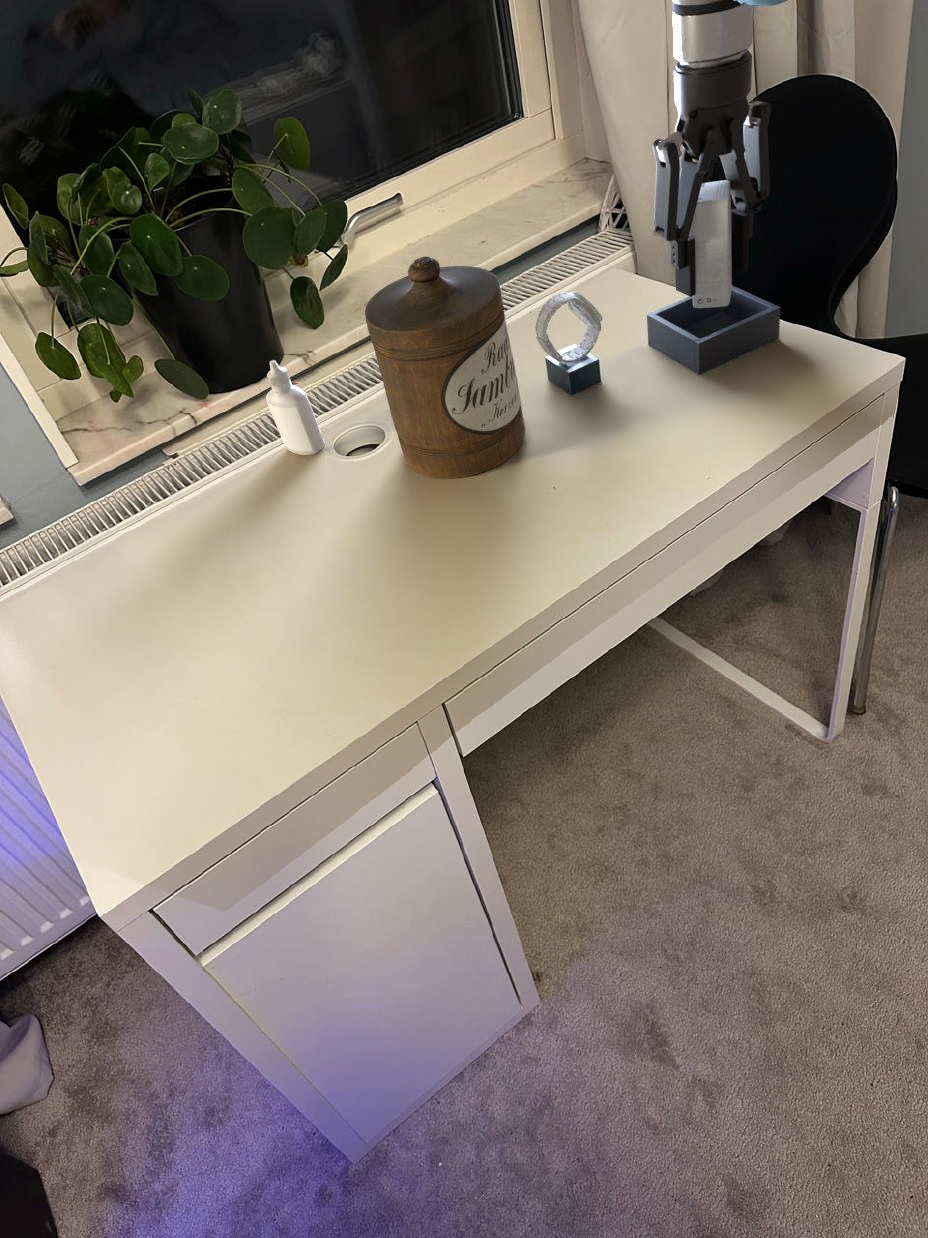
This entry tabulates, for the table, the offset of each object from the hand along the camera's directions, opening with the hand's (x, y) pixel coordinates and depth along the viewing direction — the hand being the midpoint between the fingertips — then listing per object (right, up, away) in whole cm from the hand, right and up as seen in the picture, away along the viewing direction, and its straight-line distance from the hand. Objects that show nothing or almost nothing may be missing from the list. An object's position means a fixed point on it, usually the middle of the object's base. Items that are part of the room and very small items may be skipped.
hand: (711, 279), depth 100 cm
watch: (-15, -10, +6) cm, 19 cm away
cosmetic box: (0, -2, +2) cm, 2 cm away
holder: (+2, -6, +5) cm, 8 cm away
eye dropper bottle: (-49, -18, +7) cm, 53 cm away
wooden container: (-29, -19, +1) cm, 35 cm away
